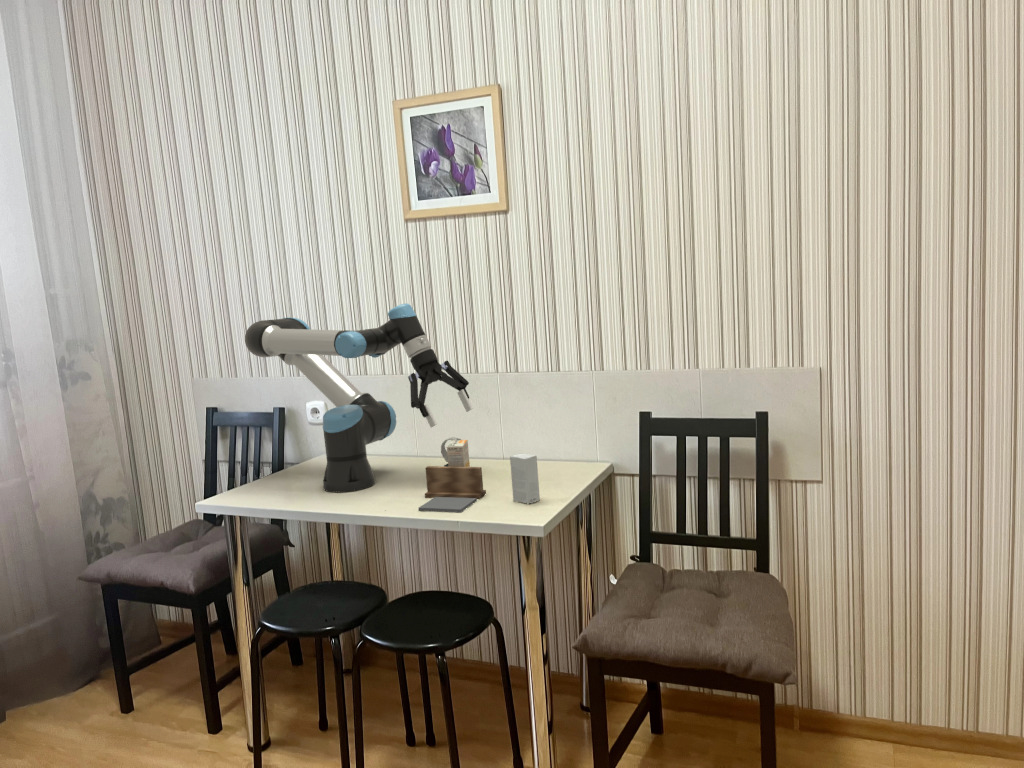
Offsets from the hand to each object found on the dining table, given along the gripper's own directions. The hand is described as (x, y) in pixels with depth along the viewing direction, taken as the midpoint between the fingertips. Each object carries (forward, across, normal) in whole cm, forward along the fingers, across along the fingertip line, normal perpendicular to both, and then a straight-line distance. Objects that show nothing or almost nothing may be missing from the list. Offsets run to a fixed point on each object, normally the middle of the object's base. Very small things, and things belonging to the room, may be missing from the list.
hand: (452, 418), depth 225 cm
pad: (+22, -22, -13) cm, 33 cm away
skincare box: (+30, -7, -25) cm, 39 cm away
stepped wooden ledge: (+20, -15, -7) cm, 26 cm away
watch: (+15, +1, +13) cm, 20 cm away
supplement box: (+20, -9, -2) cm, 22 cm away
